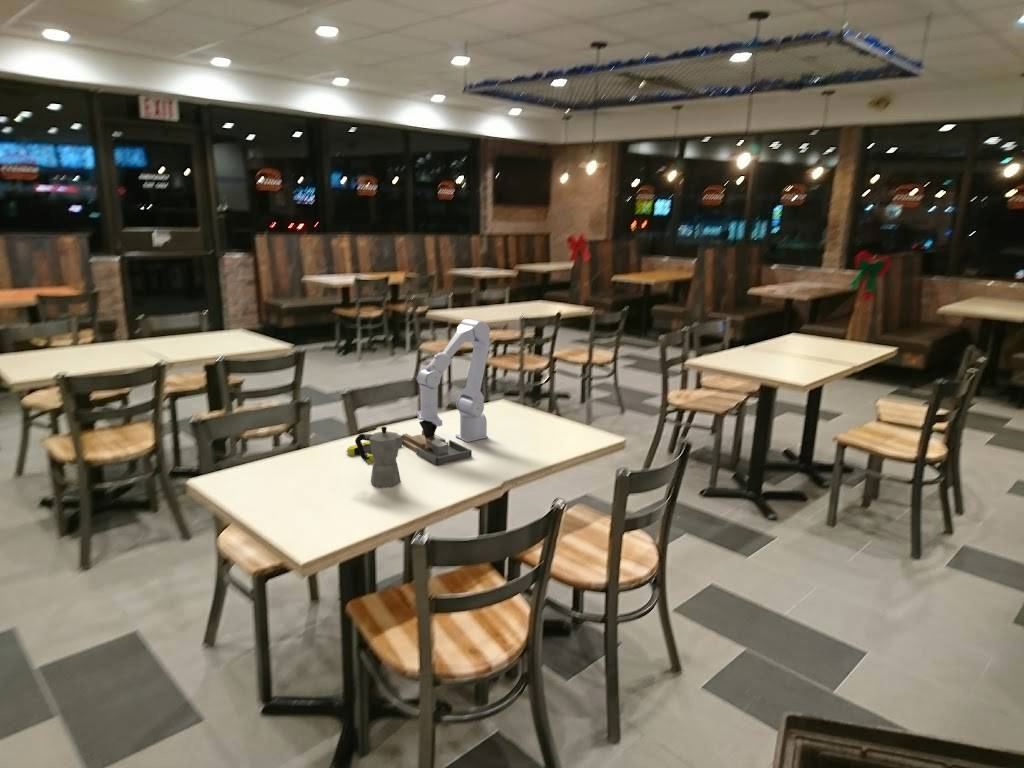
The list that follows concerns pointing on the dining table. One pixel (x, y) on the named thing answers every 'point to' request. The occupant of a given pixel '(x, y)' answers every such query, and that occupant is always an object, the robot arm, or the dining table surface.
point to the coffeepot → (383, 457)
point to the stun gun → (367, 448)
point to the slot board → (417, 442)
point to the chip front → (440, 448)
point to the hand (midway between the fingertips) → (429, 440)
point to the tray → (446, 454)
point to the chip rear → (432, 441)
